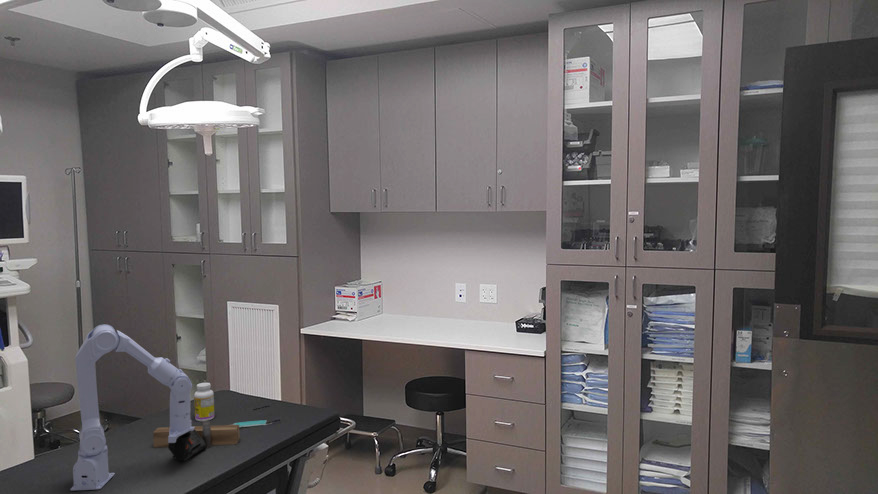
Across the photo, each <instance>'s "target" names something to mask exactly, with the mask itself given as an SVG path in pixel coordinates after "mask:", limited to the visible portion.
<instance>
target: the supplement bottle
mask: <svg viewBox="0 0 878 494" xmlns="http://www.w3.org/2000/svg"><path fill="white" fill-rule="evenodd" d="M211 387H212V384H211V383H210V382H200V383H198V384H196V389H197V390H196V391H195V392H194V394H193V397H194V398H193V399H194V400H193V401H194V419H195V421H197V422H199V423H200V422H202V423H203V422H206V421H211V420H213V419H214V418H215V396H214V395H215V394H214V391H213V390H212V389H211Z"/></svg>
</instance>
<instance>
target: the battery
mask: <svg viewBox="0 0 878 494" xmlns="http://www.w3.org/2000/svg"><path fill="white" fill-rule="evenodd" d="M187 433H191V436H190V438H189V440H188V442H187V446H186V452H185V457H184V458H183V459H176V461H177V460H178V461H180V462H184V461H187V460H189V458H191V457H193V456H194V455H196V454H197V453H199V452H200V451H201V450H203V449H205V448H204V447H205V446H206V444H205V441H204V440H203V439H202V438H201V436H199V434H198V433H197V431H196V430H195V429H194V430H193V431H189V432H187ZM167 448H168V450H169V451H170V452H171V453H172V454H173V456H172V457H173V458H175V452H174V447H173V445H172V443H169V444H168V447H167Z"/></svg>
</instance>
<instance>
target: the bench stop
mask: <svg viewBox="0 0 878 494" xmlns="http://www.w3.org/2000/svg"><path fill="white" fill-rule="evenodd" d="M192 427H195V430H196V431H197V433H198V434H199V436H201V438H202V439H203V440H204V441H205V444H206V446H205V447H204V448H203V449H210V448H211V447H212V446H222V445H227V446H228V445H237V444H238V443H239V441H240V440H241V439H240V438H241V437H240V428H239V425H232V424H225V425H224V424H223V425H222V424H219V425H211V420H209V421H203V422H202V425H200V426H199V425H198V426H197V425H196V426H195V425H194V426H192ZM169 429H170V426H169V427H157V428H156V429H154V431H153V434H152V435H153V437H152V439H153V440H152V441H153V448H168V444H169V443H168V436H169Z"/></svg>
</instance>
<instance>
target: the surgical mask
mask: <svg viewBox="0 0 878 494" xmlns="http://www.w3.org/2000/svg"><path fill="white" fill-rule="evenodd" d="M268 407H269V408H270V405H265V406H262V407H256V408H253V411H256V410H260V409H264V408H268ZM267 421H268V420H265V418H263V419H261V420H251V421H248V420H247V421H240V422H234V423H232V424H231V425H239V429H240V428H241V429H242V428H250V427H261V426H267V425H271V424H272V423H275V422H279V421H281V419H277V420H276V419H275V420H273V421H268V422H267Z"/></svg>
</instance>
